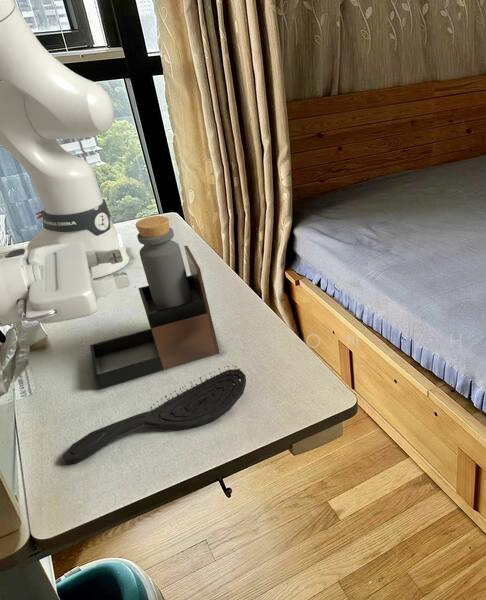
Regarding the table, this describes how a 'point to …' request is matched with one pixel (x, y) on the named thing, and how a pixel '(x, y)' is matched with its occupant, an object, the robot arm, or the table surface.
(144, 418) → the hairbrush
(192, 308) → the bottle rack
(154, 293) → the bottle
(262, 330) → the table surface
